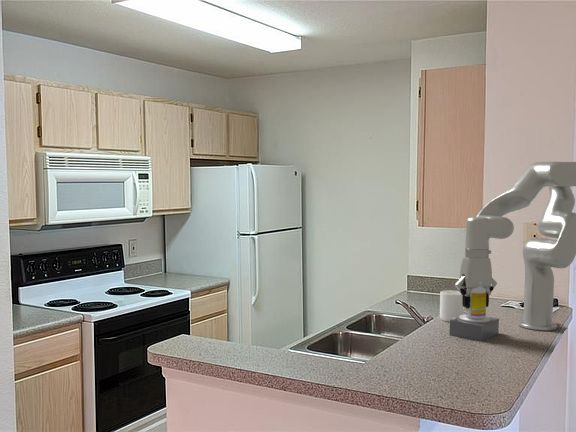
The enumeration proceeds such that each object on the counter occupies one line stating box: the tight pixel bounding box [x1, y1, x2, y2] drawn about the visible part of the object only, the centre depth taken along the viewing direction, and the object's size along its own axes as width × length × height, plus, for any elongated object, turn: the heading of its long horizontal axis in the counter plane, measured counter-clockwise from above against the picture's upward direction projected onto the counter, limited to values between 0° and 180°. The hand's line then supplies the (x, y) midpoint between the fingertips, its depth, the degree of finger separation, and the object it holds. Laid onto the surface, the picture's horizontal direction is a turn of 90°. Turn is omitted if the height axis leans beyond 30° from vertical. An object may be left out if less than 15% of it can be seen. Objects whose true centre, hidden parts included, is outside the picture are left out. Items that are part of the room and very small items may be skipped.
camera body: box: [449, 313, 500, 342], centre depth 196 cm, size 14×11×6 cm
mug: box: [439, 290, 465, 323], centre depth 217 cm, size 12×8×10 cm
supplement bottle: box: [464, 282, 487, 319], centre depth 195 cm, size 7×7×13 cm
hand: (475, 306), depth 196 cm, fingers closed on supplement bottle, 6 cm apart
